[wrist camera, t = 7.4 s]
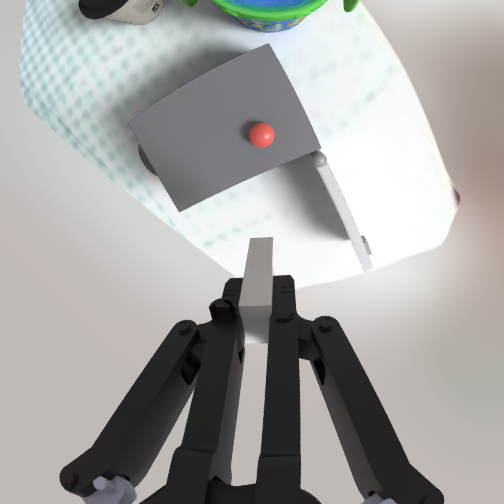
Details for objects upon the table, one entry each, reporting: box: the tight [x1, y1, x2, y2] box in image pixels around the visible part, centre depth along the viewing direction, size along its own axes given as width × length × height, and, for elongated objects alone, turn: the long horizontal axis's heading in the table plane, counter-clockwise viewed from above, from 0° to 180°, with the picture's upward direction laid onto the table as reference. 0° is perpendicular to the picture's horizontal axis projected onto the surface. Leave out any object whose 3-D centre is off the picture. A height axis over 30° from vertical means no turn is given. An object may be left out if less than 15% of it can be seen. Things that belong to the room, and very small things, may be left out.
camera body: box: [128, 43, 321, 212], centre depth 24 cm, size 10×15×8 cm, turn 116°
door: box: [308, 150, 373, 272], centre depth 27 cm, size 2×13×6 cm, turn 31°
